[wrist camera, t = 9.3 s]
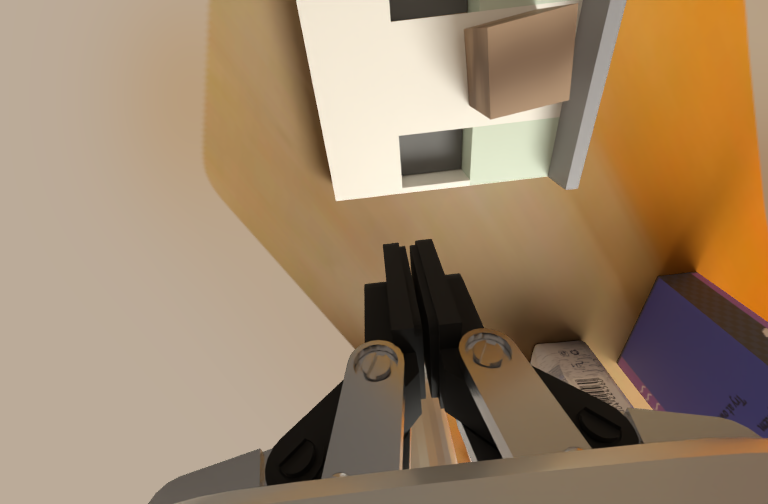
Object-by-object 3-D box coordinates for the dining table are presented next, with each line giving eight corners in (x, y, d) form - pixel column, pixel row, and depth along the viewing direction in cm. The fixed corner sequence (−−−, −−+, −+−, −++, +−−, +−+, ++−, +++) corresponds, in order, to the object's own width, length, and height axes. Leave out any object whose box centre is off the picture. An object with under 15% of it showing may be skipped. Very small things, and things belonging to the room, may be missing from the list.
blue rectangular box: (647, 359, 50) (835, 572, 30) (616, 363, 50) (784, 578, 30) (696, 271, 40) (1022, 501, 20) (657, 276, 40) (946, 510, 20)
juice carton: (516, 382, 51) (635, 649, 29) (529, 338, 46) (690, 630, 23) (571, 378, 52) (731, 639, 29) (591, 333, 46) (811, 618, 23)
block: (534, 89, 24) (569, 100, 20) (469, 105, 25) (490, 119, 21) (537, 9, 22) (578, 2, 18) (463, 28, 22) (487, 27, 18)
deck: (338, 187, 31) (333, 216, 26) (291, -58, 21) (270, -87, 16) (543, 163, 31) (577, 188, 26) (591, -95, 21) (661, -134, 16)
